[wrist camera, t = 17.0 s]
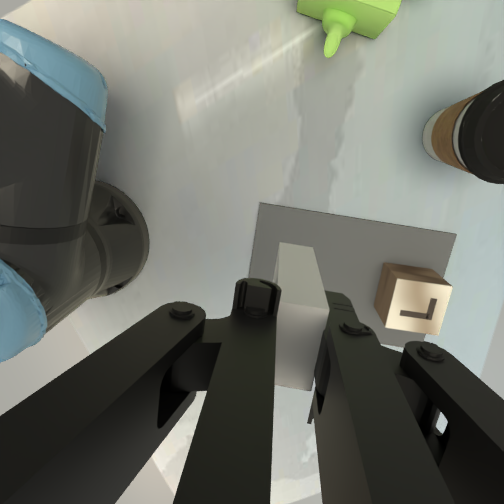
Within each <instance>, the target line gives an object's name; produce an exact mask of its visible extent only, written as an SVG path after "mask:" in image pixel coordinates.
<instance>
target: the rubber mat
mask: <svg viewBox="0 0 504 504" xmlns="http://www.w3.org/2000/svg"><path fill="white" fill-rule="evenodd" d="M456 235H457V234H453V233H446V232H440V231H434V230H428V229H421V228H415V227H409V226H402V225H396V224H390V223H384V222H377V221H371V220H365V219H359V218H352V217H346V216H340V215H334V214H327V213H321V212H315V211H308V210H302V209H296V208H290V207H283V206H277V205H271V204H265V203H260V207H259V213H258V220H257V226H256V233H255V239H254V246H253V252H252V259H251V265H250V272H249V278H258V279H263V280H268V281H270V282H273V278H274V272H275V266H276V261H277V255H278V249H279V243H280V242H282V243H288V244H295V245H301V246H307V247H313V250H314V254H315V257H316V261H317V265H318V269H319V272H320V276H321V280H322V284H323V287H324V290H326V291H332V292H338V293H343V294H344V295H345V296H346V297H348V298H349V299H350V300H351V303H352V305H353V307H354V310H355V313H356V315H357V317H358V319H359V322H361V323H363V324H365V325H367V326H369V327H370V328H371V329H372V330H373V331H374V332H375V334H376V336H377V338H378V340H379V342H380V344H386V345H391V346H397V347H403V348H404V346H405V344H406V343H407V342H409V341H421V342H423V341H424V338H425V335H426V334H425V333H418V332H411V331H405V330H398V329H391V328H385V326H384V324H383V323H382V321H381V319H380V317H379V315H378V313H377V311H376V310H375V308H374V302H375V298H376V293H377V289H378V285H379V281H380V276H381V272H382V268H383V264H384V262H386V263H393V264H400V265H407V266H414V267H421V268H428V269H433V270H434V271H435V272H436V273H438V274H439V275H440V276H441V277H442V278H443V277H444V274H445V271H446V267H447V264H448V261H449V258H450V255H451V251H452V248H453V245H454V242H455V239H456Z"/></svg>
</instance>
